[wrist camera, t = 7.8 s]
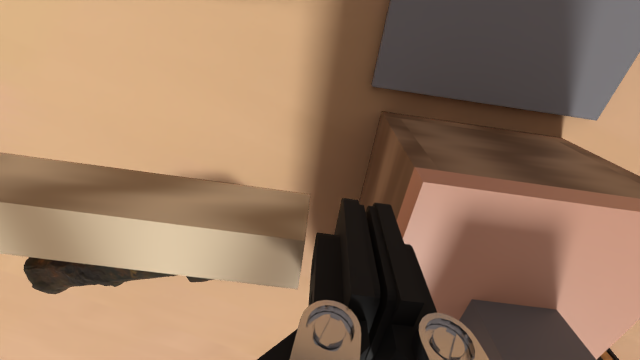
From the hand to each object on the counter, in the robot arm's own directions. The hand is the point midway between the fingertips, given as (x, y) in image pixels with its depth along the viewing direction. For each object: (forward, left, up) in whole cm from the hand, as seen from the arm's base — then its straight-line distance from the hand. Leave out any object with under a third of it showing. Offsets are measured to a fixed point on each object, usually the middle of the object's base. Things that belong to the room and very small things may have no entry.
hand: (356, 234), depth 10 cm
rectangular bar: (+9, 0, -1) cm, 9 cm away
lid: (-8, +6, -3) cm, 11 cm away
